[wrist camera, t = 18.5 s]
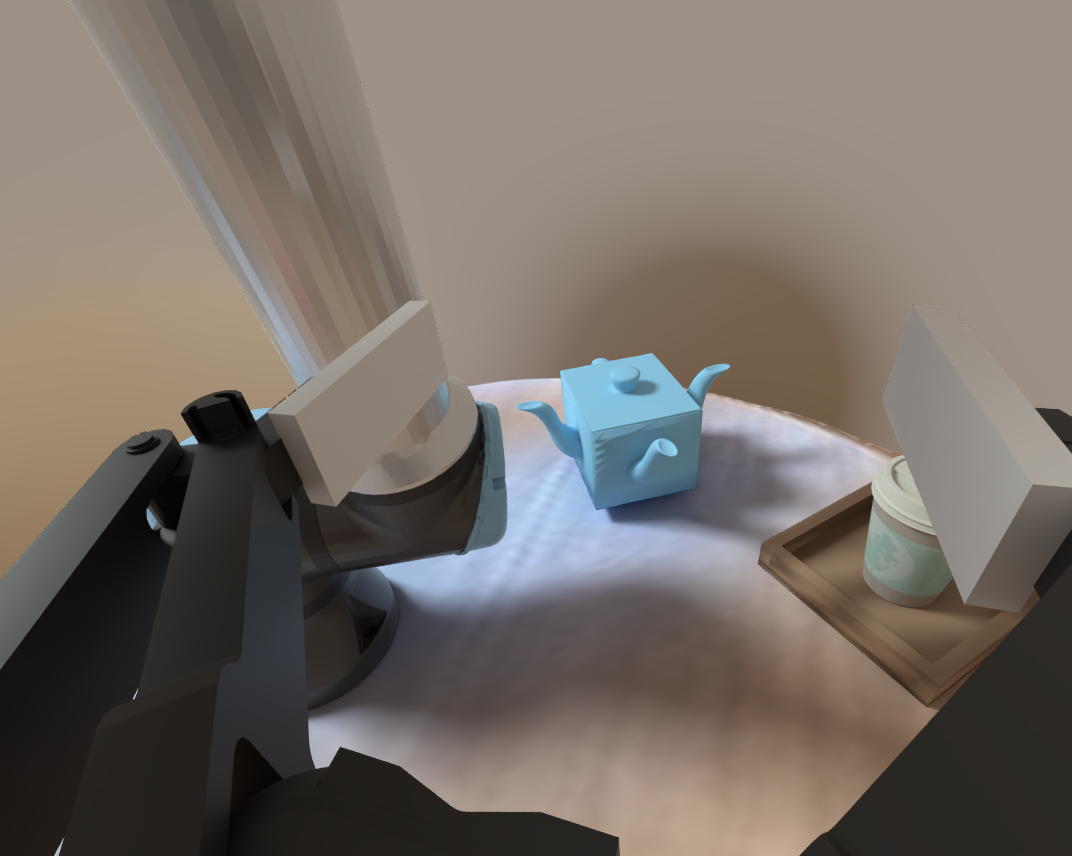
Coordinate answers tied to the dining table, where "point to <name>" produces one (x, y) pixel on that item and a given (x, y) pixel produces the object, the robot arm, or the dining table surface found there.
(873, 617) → the wooden tray
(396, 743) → the dining table surface
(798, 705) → the dining table surface
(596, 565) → the dining table surface
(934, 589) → the coffee cup
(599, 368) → the teakettle
